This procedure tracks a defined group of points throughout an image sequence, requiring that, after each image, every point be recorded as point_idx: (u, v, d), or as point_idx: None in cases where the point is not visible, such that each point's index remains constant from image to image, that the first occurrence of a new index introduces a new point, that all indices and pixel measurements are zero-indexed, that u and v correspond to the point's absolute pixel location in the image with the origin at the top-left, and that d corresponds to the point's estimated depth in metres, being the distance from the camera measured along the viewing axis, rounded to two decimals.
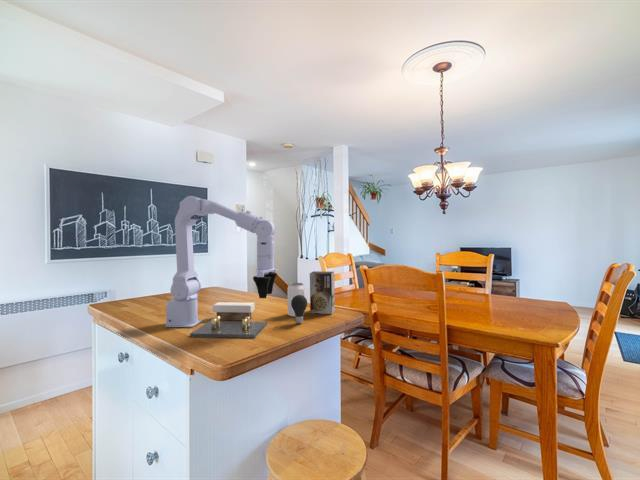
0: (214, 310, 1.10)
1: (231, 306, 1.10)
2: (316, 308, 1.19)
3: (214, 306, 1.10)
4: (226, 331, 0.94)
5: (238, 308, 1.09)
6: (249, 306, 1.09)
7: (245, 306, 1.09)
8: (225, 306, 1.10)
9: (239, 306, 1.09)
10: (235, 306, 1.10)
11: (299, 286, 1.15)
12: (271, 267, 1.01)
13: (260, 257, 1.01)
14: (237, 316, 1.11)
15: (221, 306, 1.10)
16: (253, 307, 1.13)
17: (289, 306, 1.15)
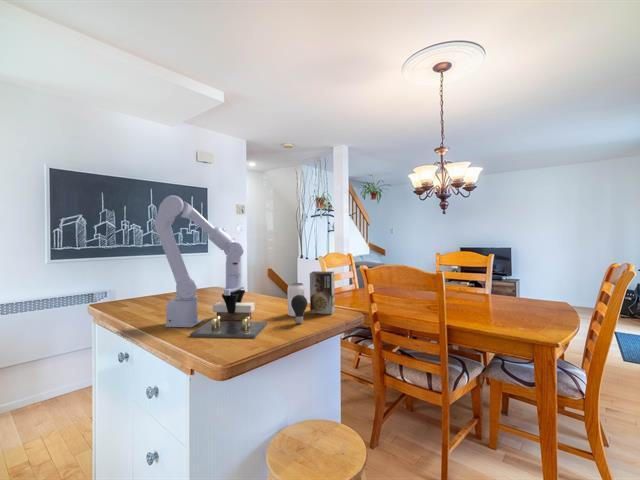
0: (214, 310, 1.10)
1: None
2: (316, 308, 1.19)
3: (214, 306, 1.10)
4: (226, 331, 0.94)
5: (238, 308, 1.09)
6: (249, 306, 1.09)
7: (245, 306, 1.09)
8: (225, 306, 1.10)
9: (239, 306, 1.09)
10: None
11: (299, 286, 1.15)
12: (238, 285, 1.10)
13: (228, 276, 1.10)
14: (237, 316, 1.11)
15: (221, 306, 1.10)
16: (253, 307, 1.13)
17: (289, 306, 1.15)
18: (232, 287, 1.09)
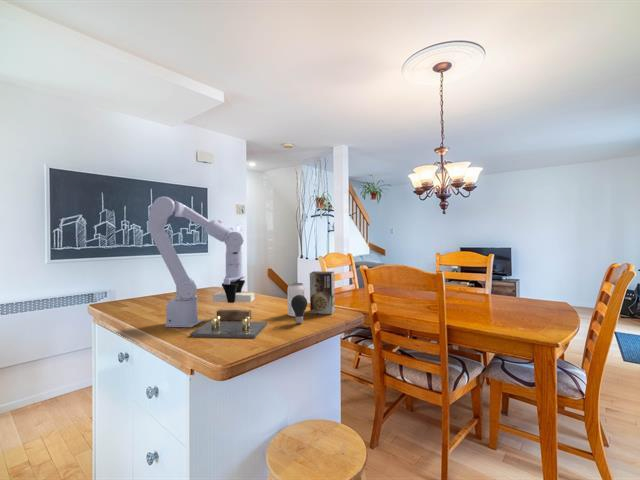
0: (214, 300, 1.10)
1: None
2: (316, 308, 1.19)
3: (214, 296, 1.10)
4: (226, 331, 0.94)
5: (238, 298, 1.09)
6: (249, 296, 1.09)
7: (245, 296, 1.09)
8: (225, 296, 1.10)
9: (239, 296, 1.09)
10: (235, 296, 1.10)
11: (299, 286, 1.15)
12: (238, 275, 1.10)
13: (228, 266, 1.10)
14: (237, 316, 1.11)
15: (221, 296, 1.10)
16: (253, 297, 1.13)
17: (289, 306, 1.15)
18: (232, 276, 1.09)
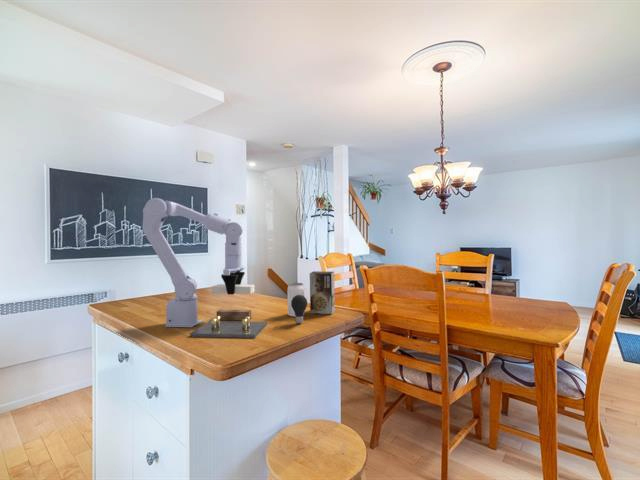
0: (213, 291, 1.08)
1: None
2: (316, 308, 1.19)
3: (213, 287, 1.08)
4: (226, 331, 0.94)
5: (238, 289, 1.08)
6: (249, 287, 1.07)
7: (245, 287, 1.08)
8: (225, 287, 1.08)
9: (239, 287, 1.08)
10: (235, 287, 1.08)
11: (299, 286, 1.15)
12: (238, 266, 1.09)
13: (227, 257, 1.08)
14: (237, 316, 1.11)
15: (220, 287, 1.08)
16: (253, 289, 1.11)
17: (289, 306, 1.15)
18: (232, 268, 1.07)
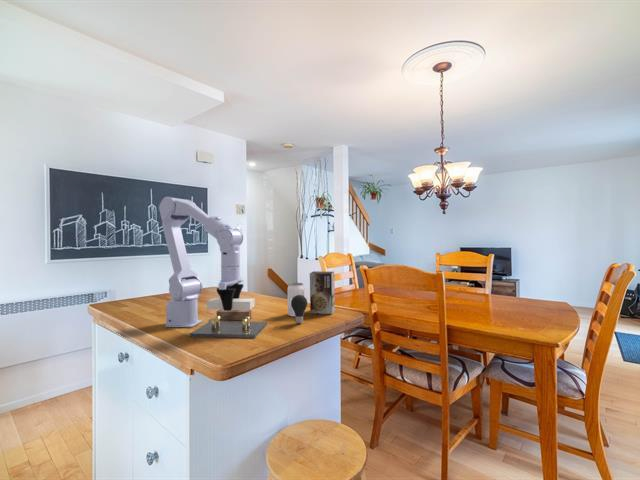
0: (208, 307, 0.96)
1: None
2: (316, 308, 1.19)
3: (208, 302, 0.96)
4: (226, 331, 0.94)
5: (236, 305, 0.95)
6: (248, 302, 0.95)
7: (244, 302, 0.95)
8: (221, 302, 0.96)
9: (237, 302, 0.95)
10: (232, 302, 0.95)
11: (299, 286, 1.15)
12: (236, 278, 0.96)
13: (224, 268, 0.95)
14: (237, 316, 1.11)
15: (216, 302, 0.96)
16: (253, 304, 0.98)
17: (289, 306, 1.15)
18: (228, 280, 0.95)
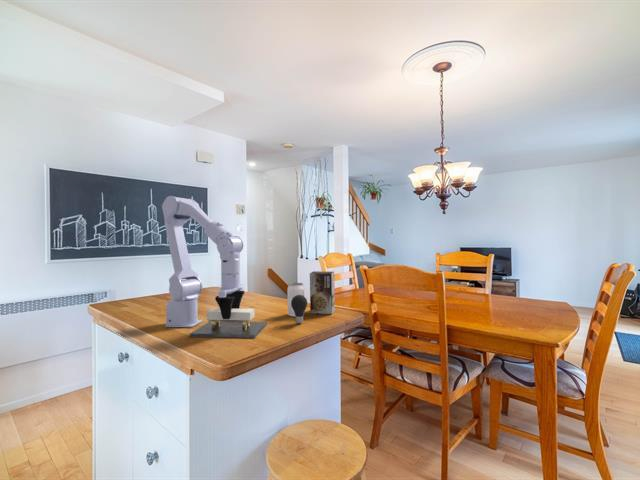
0: (208, 317, 0.96)
1: None
2: (316, 308, 1.19)
3: (208, 313, 0.96)
4: (226, 331, 0.94)
5: (236, 315, 0.95)
6: (248, 313, 0.95)
7: (244, 313, 0.95)
8: None
9: (237, 313, 0.95)
10: (232, 313, 0.95)
11: (299, 286, 1.15)
12: (236, 286, 0.96)
13: (224, 275, 0.95)
14: None
15: (216, 313, 0.96)
16: (253, 314, 0.98)
17: (289, 306, 1.15)
18: (228, 288, 0.95)
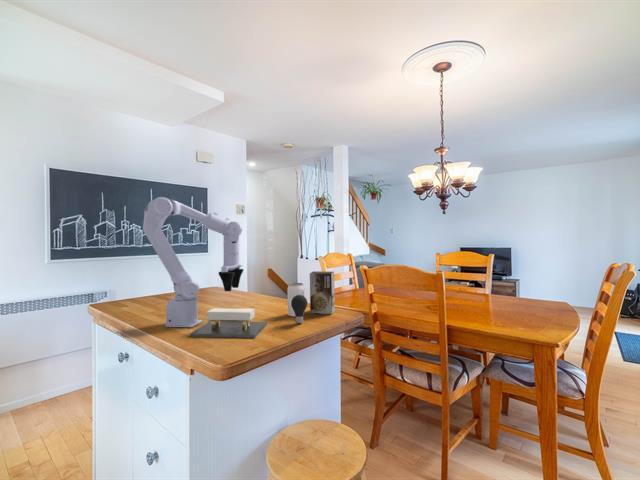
0: (208, 317, 0.96)
1: (228, 313, 0.95)
2: (316, 308, 1.19)
3: (208, 313, 0.96)
4: (226, 331, 0.94)
5: (236, 315, 0.95)
6: (248, 313, 0.95)
7: (244, 313, 0.95)
8: (221, 313, 0.96)
9: (237, 313, 0.95)
10: (232, 313, 0.95)
11: (299, 286, 1.15)
12: (236, 263, 1.13)
13: (226, 254, 1.12)
14: None
15: (216, 313, 0.96)
16: (253, 314, 0.98)
17: (289, 306, 1.15)
18: (230, 265, 1.12)
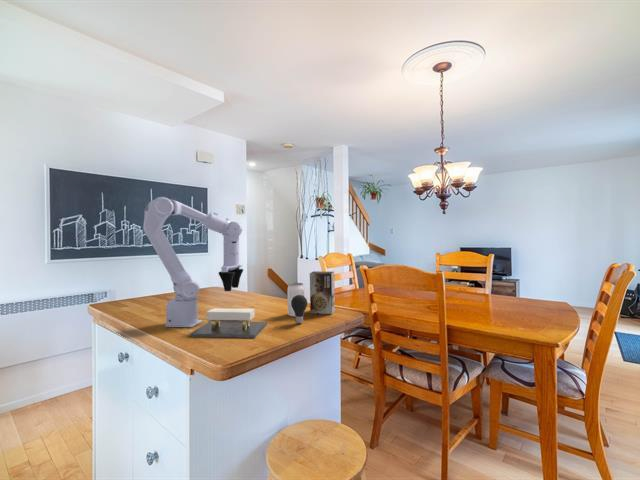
0: (208, 317, 0.96)
1: (228, 313, 0.95)
2: (316, 308, 1.19)
3: (208, 313, 0.96)
4: (226, 331, 0.94)
5: (236, 315, 0.95)
6: (248, 313, 0.95)
7: (244, 313, 0.95)
8: (221, 313, 0.96)
9: (237, 313, 0.95)
10: (232, 313, 0.95)
11: (299, 286, 1.15)
12: (236, 263, 1.14)
13: (226, 254, 1.13)
14: None
15: (216, 313, 0.96)
16: (253, 314, 0.98)
17: (289, 306, 1.15)
18: (230, 265, 1.12)
